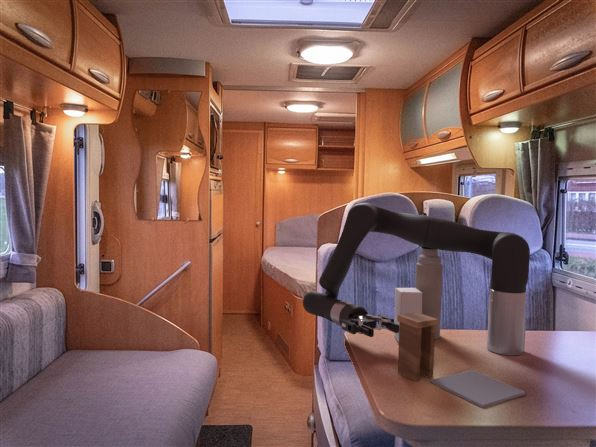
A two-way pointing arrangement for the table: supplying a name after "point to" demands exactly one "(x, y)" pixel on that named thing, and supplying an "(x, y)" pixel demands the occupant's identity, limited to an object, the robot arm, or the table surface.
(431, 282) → the thermos bottle
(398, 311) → the skincare box
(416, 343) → the stool
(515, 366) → the table surface
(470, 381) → the mat
